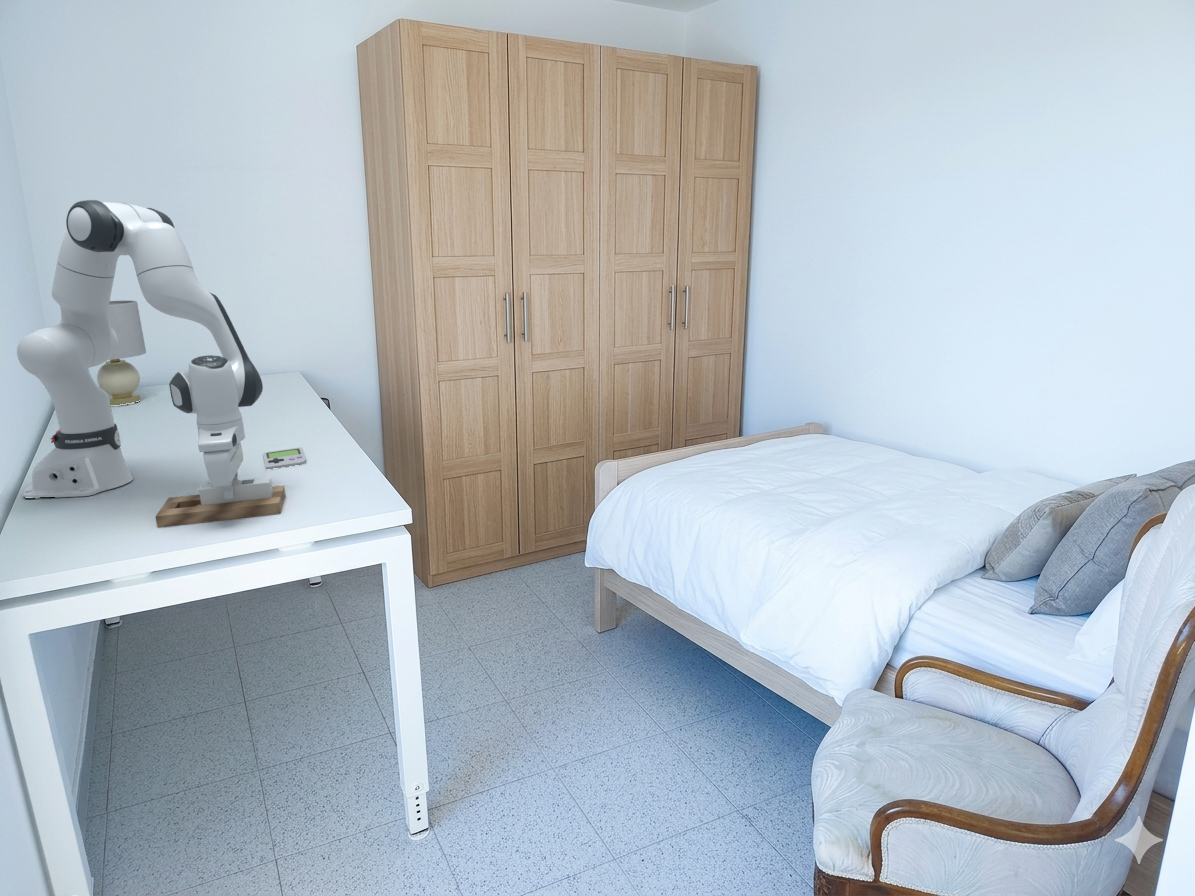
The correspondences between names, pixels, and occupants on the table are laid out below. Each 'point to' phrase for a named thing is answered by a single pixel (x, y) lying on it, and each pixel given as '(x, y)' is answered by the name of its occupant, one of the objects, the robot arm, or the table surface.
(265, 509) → the keyhole board
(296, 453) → the handheld gaming console
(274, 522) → the table surface
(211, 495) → the power strip
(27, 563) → the table surface
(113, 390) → the lamp
